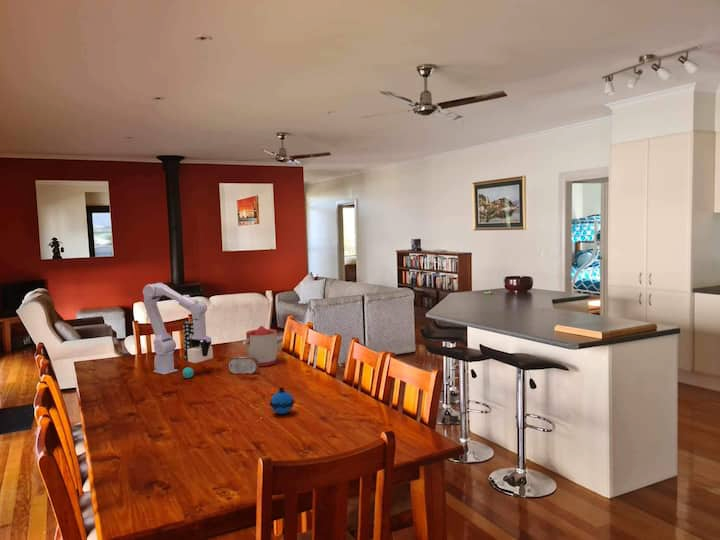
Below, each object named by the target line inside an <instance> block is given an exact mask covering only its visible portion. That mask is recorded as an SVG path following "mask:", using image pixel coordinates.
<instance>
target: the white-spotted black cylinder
mask: <svg viewBox="0 0 720 540" xmlns="http://www.w3.org/2000/svg"><path fill="white" fill-rule="evenodd" d="M182 329H183V331H182V332H183V351H184V352H183V353H184V360H185V361H188V354H187V349H190V348H192V346H191V344H190V343H189V341H191V340H192V339H189V335H194V330H193V320H191V321H184V322H182Z"/></svg>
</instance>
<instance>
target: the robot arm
mask: <svg viewBox="0 0 720 540" xmlns="http://www.w3.org/2000/svg"><path fill="white" fill-rule="evenodd" d="M142 295H143V305H144V308H145V310H146V314H147V316H148V319H149V322H150V324H151V328H152V330H153V334H154V336H155V337H154V340H153V345H154V348H153V351H154V352H155V356H154V360H153V361H154V362H153V363H154V370H153V373H157V374H161V375H167V374H171V373H174V372H175V373H176V372H178V371H179V370H178V369H175V362H174V361H175V358H174V357H175V356H174V352H175V350H176V348H177V343H176V341H175V340H174V339H173V336H172V335H171V334H169V333H168V332H167V329H166V327H165V323H164V320H163V317H162V315H161V313H160V310H159V309H160V308H159V307H158V302H159V300H160V299H161V298H162V297H163V296H166V297H167V298H170V299H172V300H174V301H176V302H178V305H179V306H181V307H182V308H184V309H186V310H188V311H189V312H190V314H191V316H192V317H191V318H192V321H193V330H194V335H189V339H192V340H191V341H189V343H190V344H191V346H192V348H194V347H198V346H201V348H202V354H203V356H207V355H208V350H209V347H210V346H211V344H212V337H210V336H208V335H207V328H206V325H207V323H206V312H207V311H208V306H207V304H206V302H204V301H199V300H198V299H194V298H192V297H191V295H190V294H183V295H182V294H180V293H179V292H177V291H175V290H174V289H172V288H171V287H169V286H168V285H167V284H164V283H163V282H156V283H152V284H151V283H149V284H146V285H145V286H144V287H143V290H142Z"/></svg>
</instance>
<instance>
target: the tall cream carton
mask: <svg viewBox="0 0 720 540" xmlns="http://www.w3.org/2000/svg"><path fill="white" fill-rule="evenodd" d="M187 354H188V360H187V362H189V363H194V364H197V363H201V362H205V361H207V360H211V359H214V354H213V345H210V347H209V350H208V355H207V356H203V354H202V348H201V345H200V346H198V347H194V348H190V349H187Z"/></svg>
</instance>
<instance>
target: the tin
mask: <svg viewBox="0 0 720 540" xmlns="http://www.w3.org/2000/svg"><path fill="white" fill-rule="evenodd" d="M259 368H260V367H259V362H258V360H257V359H256V358H254V357H251V356H248V355H246V356H243V355H242V356H241V355H239V356H238V355H237V356H236V355H235V356H233V357H231V358H230V359H229V361H227V369H228V371H229V372H230V373H231V374H233V375H247V374H246V373H249V374H248V375H251V374H250V373H254V374H256V373H257V372H258V370H259Z"/></svg>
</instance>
